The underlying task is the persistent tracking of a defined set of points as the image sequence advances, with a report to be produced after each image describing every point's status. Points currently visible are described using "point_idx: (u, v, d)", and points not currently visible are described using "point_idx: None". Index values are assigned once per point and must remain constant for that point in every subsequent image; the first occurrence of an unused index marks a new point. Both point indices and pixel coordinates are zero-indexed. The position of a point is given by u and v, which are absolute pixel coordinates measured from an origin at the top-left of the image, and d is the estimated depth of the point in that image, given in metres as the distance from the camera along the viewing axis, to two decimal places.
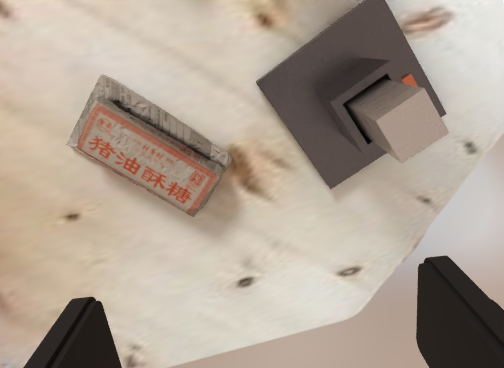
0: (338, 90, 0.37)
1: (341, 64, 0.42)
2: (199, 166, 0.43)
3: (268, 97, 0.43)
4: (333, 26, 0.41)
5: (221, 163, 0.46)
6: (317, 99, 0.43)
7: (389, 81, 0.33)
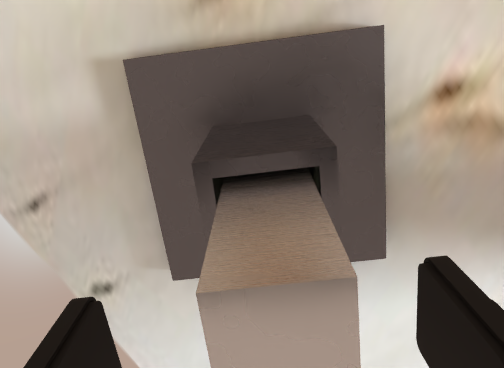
0: None
1: None
2: None
3: (347, 32, 0.23)
4: (383, 184, 0.26)
5: None
6: (295, 113, 0.24)
7: None
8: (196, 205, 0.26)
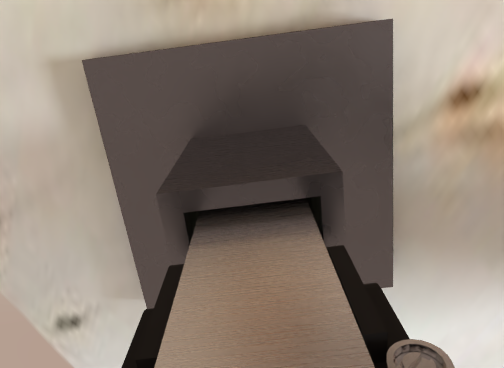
0: None
1: None
2: None
3: (350, 28, 0.19)
4: (390, 204, 0.22)
5: None
6: (289, 123, 0.21)
7: None
8: None
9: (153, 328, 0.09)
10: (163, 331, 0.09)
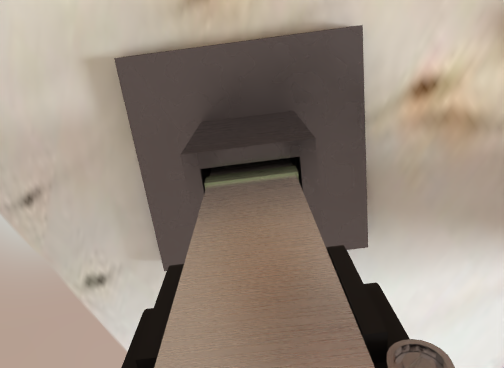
0: None
1: None
2: None
3: (328, 32, 0.24)
4: (364, 177, 0.27)
5: None
6: (280, 109, 0.26)
7: None
8: (186, 197, 0.28)
9: (153, 328, 0.09)
10: (163, 331, 0.09)
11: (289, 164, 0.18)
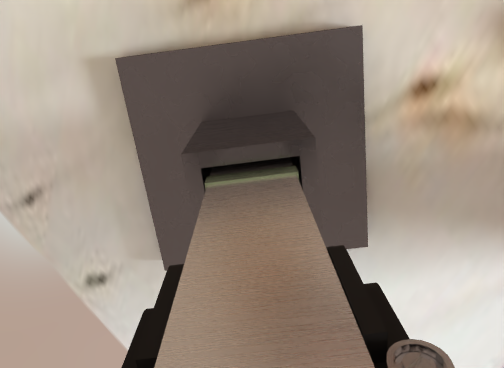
0: None
1: None
2: None
3: (328, 32, 0.24)
4: (364, 176, 0.27)
5: None
6: (280, 109, 0.26)
7: None
8: (187, 197, 0.28)
9: (153, 328, 0.09)
10: (163, 331, 0.09)
11: (289, 164, 0.18)
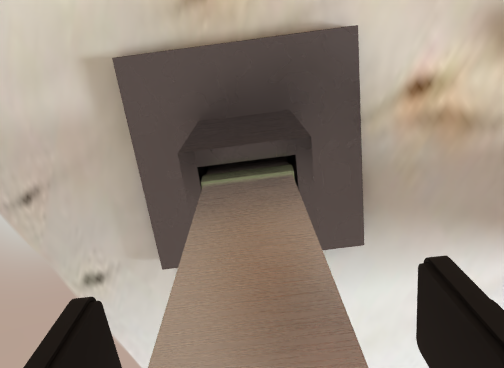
0: None
1: None
2: None
3: (324, 32, 0.24)
4: (360, 175, 0.28)
5: None
6: (277, 108, 0.26)
7: None
8: (184, 196, 0.28)
9: None
10: None
11: (285, 163, 0.18)
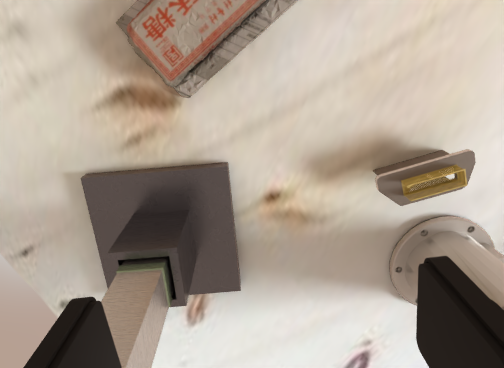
0: (182, 249, 0.37)
1: (200, 242, 0.44)
2: (188, 64, 0.35)
3: (207, 169, 0.41)
4: (235, 249, 0.44)
5: (181, 84, 0.38)
6: (181, 209, 0.42)
7: (156, 346, 0.30)
8: None
9: None
10: None
11: (164, 259, 0.35)
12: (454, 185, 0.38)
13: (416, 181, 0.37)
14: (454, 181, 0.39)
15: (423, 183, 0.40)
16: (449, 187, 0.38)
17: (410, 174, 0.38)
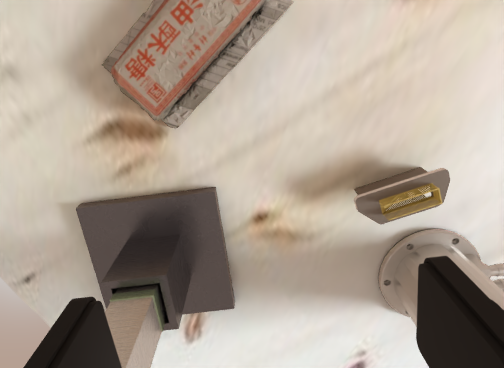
0: (173, 275, 0.39)
1: (193, 263, 0.46)
2: (171, 98, 0.37)
3: (195, 195, 0.43)
4: (226, 269, 0.46)
5: (168, 116, 0.40)
6: (172, 233, 0.44)
7: None
8: None
9: None
10: None
11: (155, 286, 0.37)
12: (430, 203, 0.39)
13: (392, 201, 0.39)
14: (430, 199, 0.40)
15: (402, 201, 0.41)
16: (425, 205, 0.39)
17: (387, 194, 0.40)
